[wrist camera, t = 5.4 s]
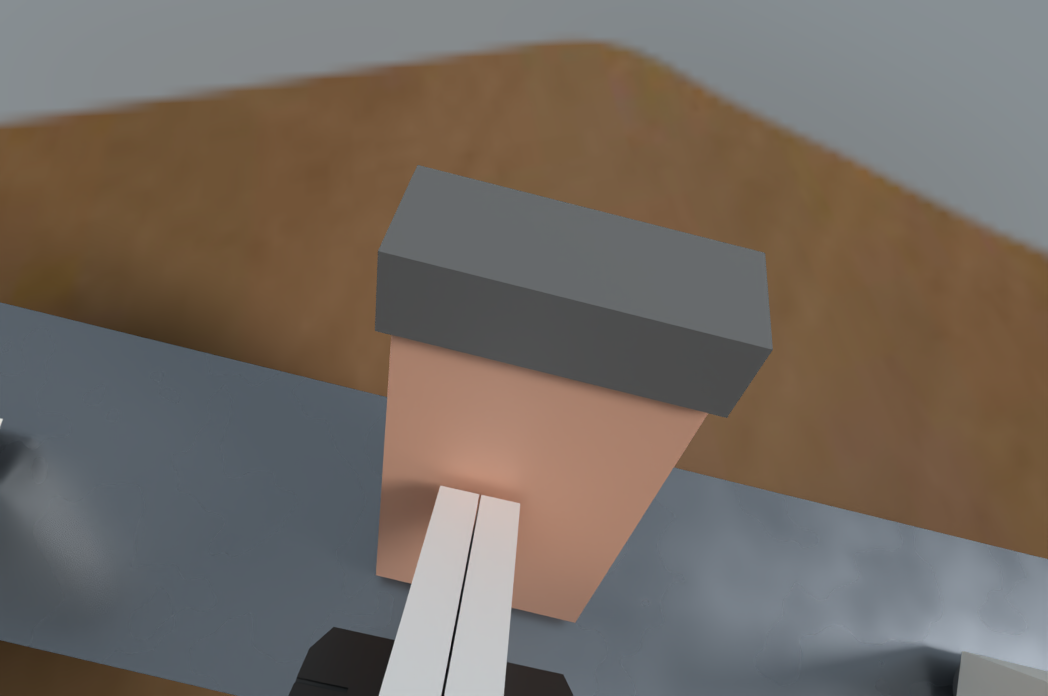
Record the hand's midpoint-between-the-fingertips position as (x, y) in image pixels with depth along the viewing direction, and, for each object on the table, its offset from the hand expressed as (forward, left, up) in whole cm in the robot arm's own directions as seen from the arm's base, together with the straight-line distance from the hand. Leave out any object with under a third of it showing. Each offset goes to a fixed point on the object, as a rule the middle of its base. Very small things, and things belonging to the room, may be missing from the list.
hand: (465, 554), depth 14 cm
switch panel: (0, -1, -8) cm, 8 cm away
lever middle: (0, -1, -5) cm, 5 cm away
